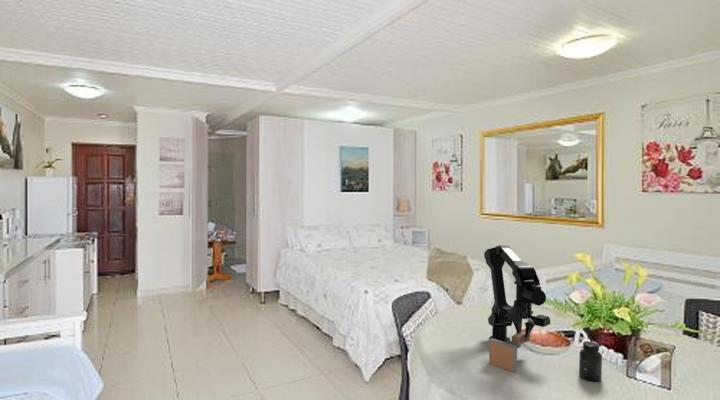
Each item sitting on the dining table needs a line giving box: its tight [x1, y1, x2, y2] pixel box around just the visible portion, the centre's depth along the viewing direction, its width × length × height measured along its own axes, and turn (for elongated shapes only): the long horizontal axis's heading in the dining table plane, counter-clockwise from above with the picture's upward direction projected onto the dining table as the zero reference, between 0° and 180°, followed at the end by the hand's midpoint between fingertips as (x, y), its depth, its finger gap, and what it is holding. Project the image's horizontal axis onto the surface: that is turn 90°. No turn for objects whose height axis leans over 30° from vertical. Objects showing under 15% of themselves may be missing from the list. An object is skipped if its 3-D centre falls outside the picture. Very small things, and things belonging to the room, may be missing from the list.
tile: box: [488, 338, 518, 373], centre depth 153 cm, size 2×10×9 cm, turn 40°
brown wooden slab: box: [505, 330, 531, 349], centre depth 159 cm, size 13×5×3 cm, turn 130°
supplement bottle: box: [578, 340, 603, 383], centre depth 145 cm, size 7×7×12 cm
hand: (522, 337), depth 162 cm, fingers closed on brown wooden slab, 3 cm apart
